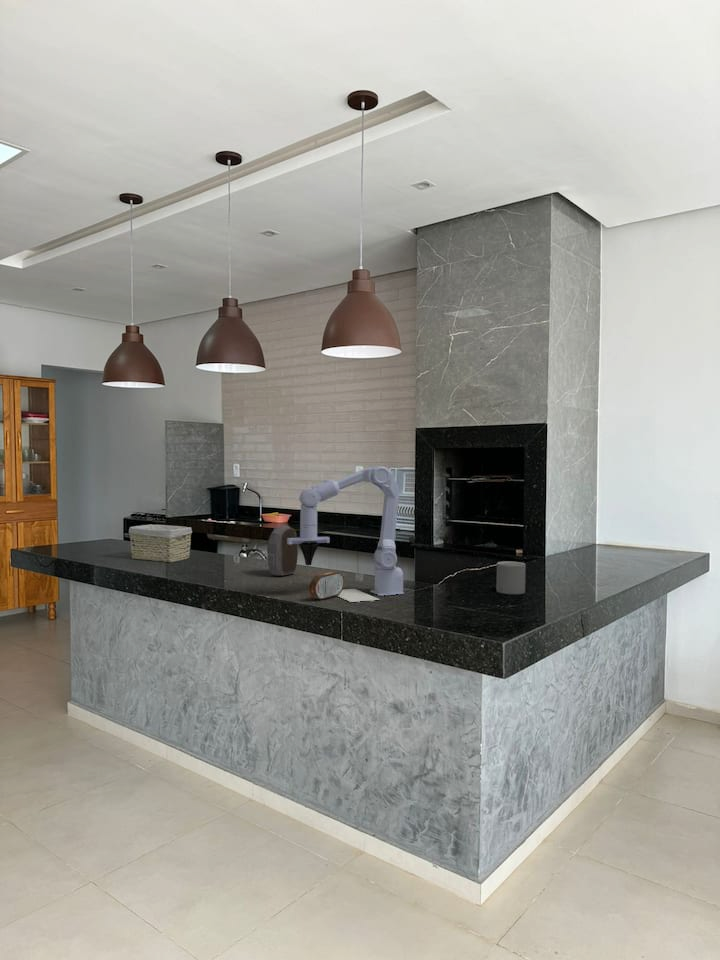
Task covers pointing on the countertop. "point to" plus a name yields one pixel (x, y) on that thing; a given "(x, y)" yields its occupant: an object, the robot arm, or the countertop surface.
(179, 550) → the storage basket
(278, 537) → the soft grey pack
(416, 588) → the countertop surface
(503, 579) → the coffee mug
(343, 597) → the grey mat
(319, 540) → the robot arm
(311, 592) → the tin
